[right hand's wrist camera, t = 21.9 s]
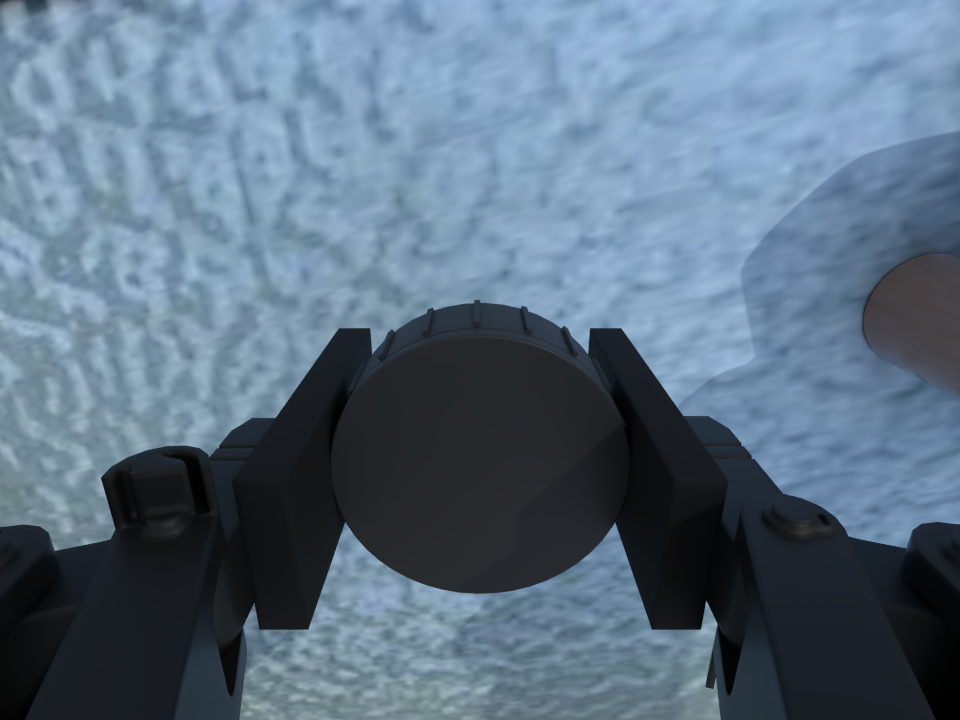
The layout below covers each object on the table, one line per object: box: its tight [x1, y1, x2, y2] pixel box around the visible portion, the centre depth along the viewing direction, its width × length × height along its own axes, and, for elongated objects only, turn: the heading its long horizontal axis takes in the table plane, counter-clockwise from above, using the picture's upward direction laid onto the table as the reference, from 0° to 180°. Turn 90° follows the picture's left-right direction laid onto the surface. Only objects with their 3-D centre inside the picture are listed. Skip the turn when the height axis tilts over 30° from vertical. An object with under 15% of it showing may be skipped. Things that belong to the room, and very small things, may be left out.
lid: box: [330, 300, 631, 594], centre depth 11 cm, size 6×6×2 cm
